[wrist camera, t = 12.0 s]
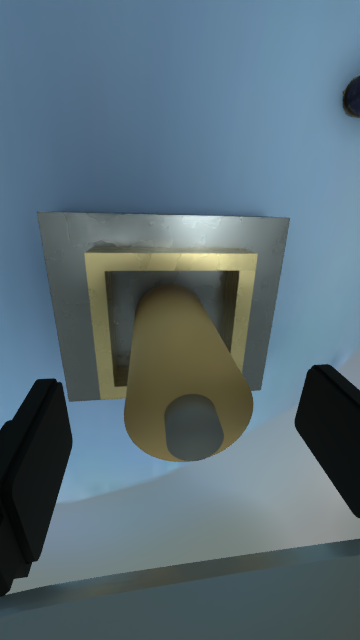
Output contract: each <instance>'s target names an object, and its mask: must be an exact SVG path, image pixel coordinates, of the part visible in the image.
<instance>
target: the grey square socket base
mask: <svg viewBox="0 0 360 640" xmlns="http://www.w3.org/2000/svg"><path fill="white" fill-rule="evenodd" d="M37 216H38V222H39V227H40V233H41V239H42V245H43V251H44V257H45V263H46V269H47V275H48V281H49V286H50V292H51V298H52V304H53V310H54V316H55V322H56V328H57V334H58V340H59V345H60V351H61V357H62V363H63V369H64V375H65V381H66V387H67V393H68V399H69V402H72V401H88V400H105V399H122V398H126V391H127V382H128V373H129V364H130V355H131V346H132V337H133V328H134V319H135V312H136V307H137V305H138V303H139V301H140V299H141V298H142V297H143V296H144V294H145V293H147V292H148V291H149V290H151V289H152V288H154V287H157V286H160V285H164V284H177V285H181V286H184V287H186V288H188V289H189V290H191V291H192V292H193V293H194V294H195V295H196V296H197V297H198V299H199V300H200V302H201V304H202V305H203V307H204V309H205V311H206V312H207V314H208V316H209V318H210V319H211V321H212V323H213V325H214V326H215V328H216V330H217V332H218V333H219V335H220V337H221V339H222V340H223V342H224V344H225V345H226V347H227V349H228V351H229V352H230V354H231V356H232V358H233V359H234V361H235V363H236V365H237V366H238V368H239V370H240V372H241V373H242V375H243V377H244V379H245V380H246V382H247V384H248V386H249V388H250V390H251V391H255V390H261V386H262V380H263V374H264V368H265V362H266V356H267V350H268V345H269V339H270V333H271V327H272V321H273V315H274V309H275V304H276V298H277V292H278V286H279V280H280V274H281V268H282V262H283V257H284V251H285V245H286V239H287V233H288V227H289V221H290V218H282V217H262V216H220V215H179V214H137V213H96V212H37Z"/></svg>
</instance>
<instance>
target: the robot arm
mask: <svg viewBox="0 0 360 640" xmlns="http://www.w3.org/2000/svg"><path fill="white" fill-rule="evenodd" d="M295 427H296V429H297V431H298V432H299V434H300V436H301V437H302V438H303V440H304V441H305V443H306V444H307V446H308V447H309V449H310V450H311V452H312V453H313V455H314V456H315V458H316V459H317V461H318V462H319V464H320V465H321V467H322V468H323V470H324V471H325V473H326V474H327V475H328V477H329V479H330V480H331V481H332V483H333V484H334V486H335V487H336V489H337V490H338V492H339V493H340V495H341V496H342V498H343V499H344V501H345V502H346V504H347V505H348V507H349V508H350V510H351V511H352V512H353V514H354V515H355V516H356V517H358V518H360V390H359V389H357V388H356V387H355V386H354V385H353V384H352V383H350V382H349V381H348V380H347V379H346V378H345V377H344V376H342V375H341V374H340V373H339V372H338V371H337V370H336V369H334V368H333V367H332V366H331V365H328V364H325V365H314V366H312V367H311V369H309V370H308V372H307V375H306V379H305V383H304V387H303V390H302V394H301V398H300V402H299V406H298V409H297V413H296V417H295ZM71 449H72V434H71V428H70V423H69V418H68V412H67V407H66V401H65V396H64V391H63V386H62V383H61V382H57V381H56V379H38V380H36V381H35V383H34V385H33V386H32V388H31V390H30V391H29V393H28V395H27V396H26V398H25V399H24V401H23V403H22V404H21V406H20V408H19V409H18V411H17V413H16V414H15V416H14V418H13V419H12V420H9V421H7V422H6V423H5V424H4V425H3V426H2V428H1V430H0V640H360V539H354V540H348V541H340V542H333V543H325V544H318V545H312V546H304V547H297V548H290V549H283V550H276V551H269V552H262V553H255V554H248V555H241V556H235V557H228V558H221V559H214V560H207V561H201V562H194V563H187V564H181V565H174V566H167V567H160V568H154V569H147V570H140V571H134V572H127V573H120V574H114V575H108V576H102V577H96V578H90V579H84V580H79V581H72V582H67V583H61V584H55V585H49V586H44V587H39V588H35V589H30V590H26V591H21V592H17V593H13V594H8V595H5V594H6V593H7V592H9V591H10V588H11V585H12V582H13V579H16V578H23V577H28V574H29V571H30V567H31V564H32V562H34V561H38V559H39V557H40V554H41V552H42V548H43V544H44V541H45V538H46V534H47V531H48V528H49V524H50V521H51V517H52V514H53V511H54V507H55V504H56V500H57V497H58V493H59V490H60V487H61V483H62V480H63V476H64V473H65V469H66V466H67V463H68V459H69V456H70V452H71Z"/></svg>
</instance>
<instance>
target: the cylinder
mask: <svg viewBox="0 0 360 640" xmlns="http://www.w3.org/2000/svg"><path fill="white" fill-rule="evenodd" d="M252 412H253V397H252V393H251V390H250V388H249V386H248V384H247V382H246V380H245V379H244V377H243V375H242V373H241V372H240V370H239V368H238V366H237V365H236V363H235V361H234V359H233V358H232V356H231V354H230V352H229V351H228V349H227V347H226V345H225V344H224V342H223V340H222V339H221V337H220V335H219V333H218V332H217V330H216V328H215V326H214V325H213V323H212V321H211V319H210V318H209V316H208V314H207V312H206V311H205V309H204V307H203V305H202V304H201V302H200V300H199V299H198V297H197V296H196V295H195V294H194V293H193V292H192V291H191V290H189V289H188V288H186V287H184V286H181V285H177V284H164V285H160V286H157V287H154V288H152V289H151V290H149V291H148V292H147V293H145V294H144V296H143V297H142V298H141V299H140V301H139V303H138V305H137V307H136V312H135V319H134V328H133V337H132V346H131V355H130V364H129V373H128V382H127V391H126V400H125V409H124V422H125V427H126V430H127V433H128V435H129V437H130V438H131V440H132V441H133V442H134V443H135V444H136V445H137V446H138V447H139V448H140V449H141V450H143V451H144V452H145V453H147V454H149V455H151V456H153V457H156V458H159V459H162V460H167V461H173V462H189V461H198V460H202V459H205V458H207V457H210V456H212V455H215V454H217V453H219V452H221V451H223V450H225V449H226V448H227V447H229V446H230V445H232V444H233V443H234V442H235V441H236V440H237V439H238V438H239V437H240V436H241V435H242V433H243V432H244V431H245V429H246V427H247V426H248V424H249V422H250V419H251V416H252Z"/></svg>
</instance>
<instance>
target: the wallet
mask: <svg viewBox="0 0 360 640" xmlns="http://www.w3.org/2000/svg"><path fill="white" fill-rule="evenodd" d="M343 94H344V99H343V107H344V109H345V112H346V114H348V115H350V116H352V117H358V118H360V76H359V77H355V78H354V79H353V80H352V81H351V83H350V84H349V85H348V87H347V89H346V90H344V91H343Z"/></svg>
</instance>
